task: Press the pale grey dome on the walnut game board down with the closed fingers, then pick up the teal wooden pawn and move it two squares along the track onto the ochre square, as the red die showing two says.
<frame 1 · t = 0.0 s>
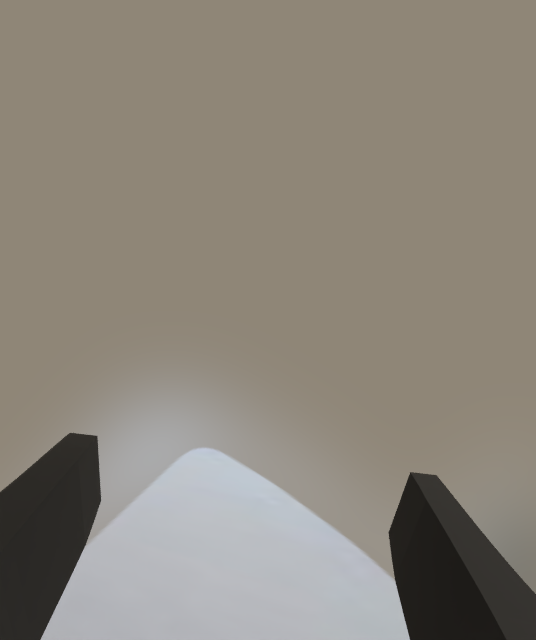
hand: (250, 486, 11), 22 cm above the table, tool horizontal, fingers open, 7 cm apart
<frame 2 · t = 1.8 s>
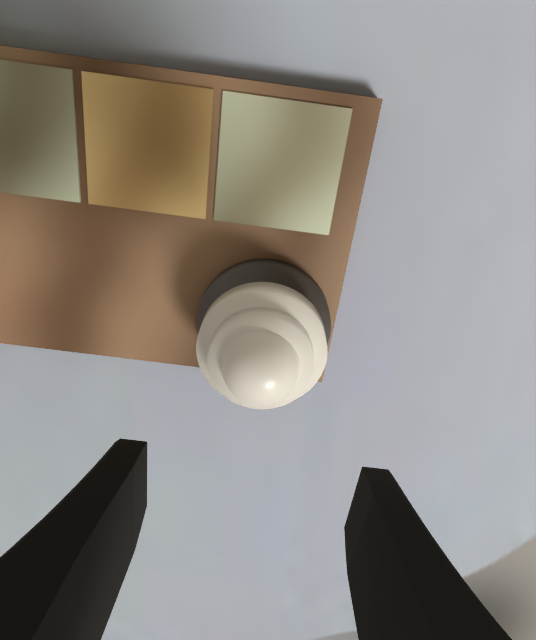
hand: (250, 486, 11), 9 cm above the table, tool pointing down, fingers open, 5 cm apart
dome: (260, 361, 15), point 4 cm above the table, slide at 0.0 cm
game board: (88, 220, 17), on the table
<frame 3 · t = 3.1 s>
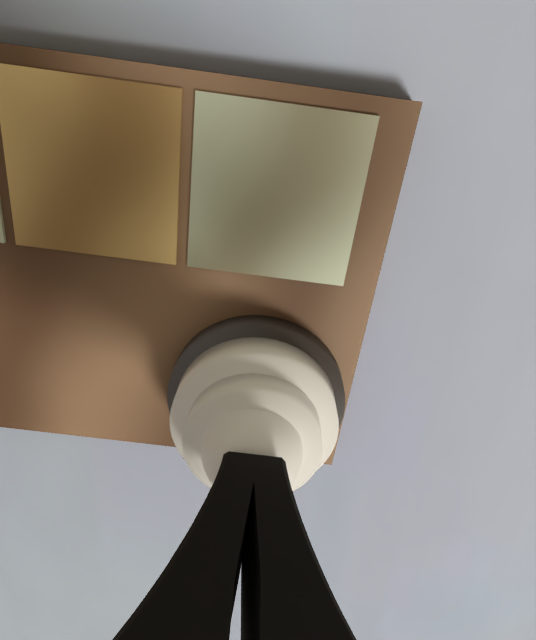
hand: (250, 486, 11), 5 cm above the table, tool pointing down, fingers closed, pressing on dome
dome: (252, 442, 12), point 3 cm above the table, slide at 0.9 cm, touching gripper
game board: (22, 263, 13), on the table
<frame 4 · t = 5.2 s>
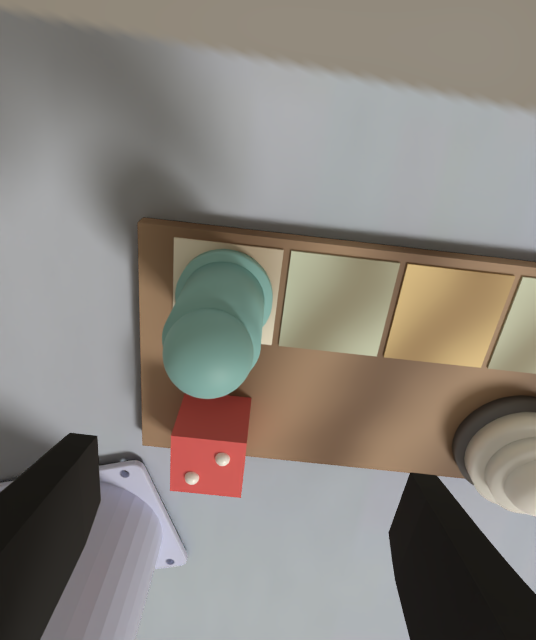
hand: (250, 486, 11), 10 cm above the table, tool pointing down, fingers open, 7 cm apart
dome: (533, 478, 19), point 3 cm above the table, slide at 0.8 cm
red die: (216, 420, 21), resting on game board
pawn: (225, 294, 18), point 1 cm above the table, touching game board
game board: (366, 362, 21), on the table
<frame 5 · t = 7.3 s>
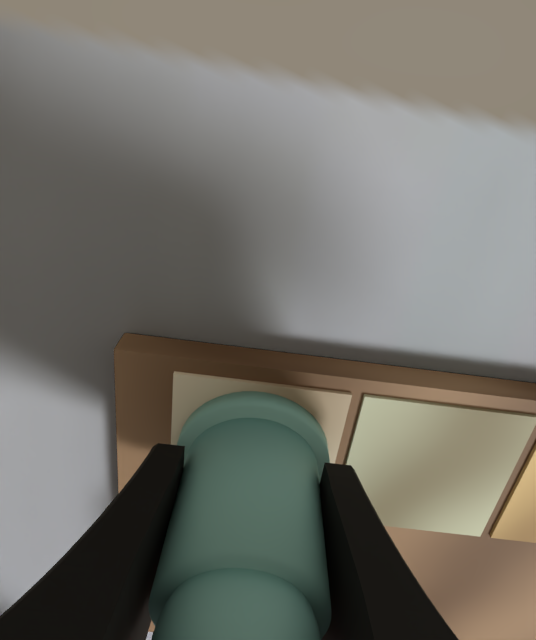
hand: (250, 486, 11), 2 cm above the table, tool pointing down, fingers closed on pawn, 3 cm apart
pawn: (252, 452, 12), point 1 cm above the table, touching game board, gripper
game board: (455, 530, 14), on the table
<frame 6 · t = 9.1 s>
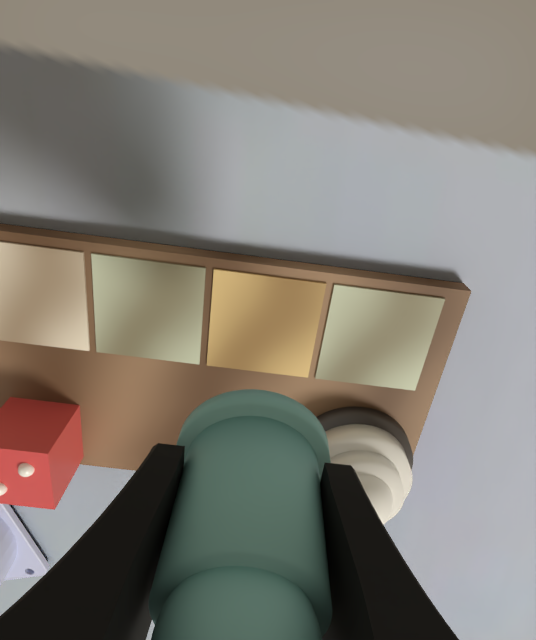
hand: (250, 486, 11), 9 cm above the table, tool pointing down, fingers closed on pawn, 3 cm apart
dome: (358, 493, 19), point 3 cm above the table, slide at 0.8 cm
red die: (48, 427, 20), resting on game board
pawn: (253, 451, 11), point 8 cm above the table, touching gripper
game board: (199, 370, 20), on the table
when the fingers open (3 cm above the table, at t = 10.9 s): pawn drops 1 cm, resting on game board.
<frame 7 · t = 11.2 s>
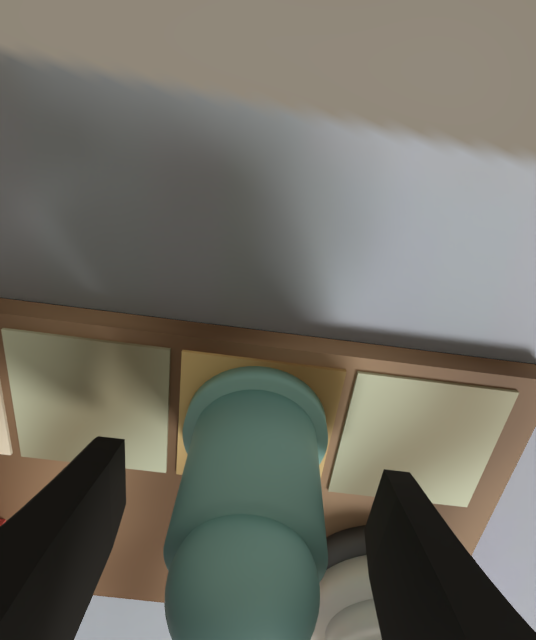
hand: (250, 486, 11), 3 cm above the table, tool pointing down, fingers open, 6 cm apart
pawn: (256, 425, 12), point 1 cm above the table, touching game board
game board: (168, 472, 14), on the table
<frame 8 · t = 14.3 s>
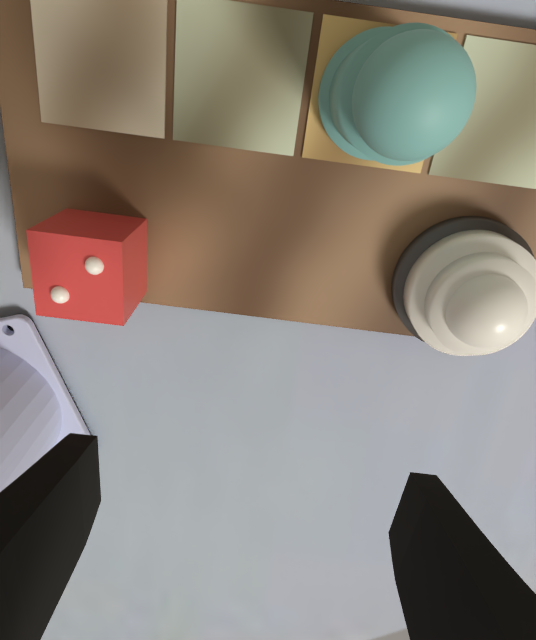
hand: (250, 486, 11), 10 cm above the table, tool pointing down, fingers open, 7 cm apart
dome: (481, 307, 16), point 3 cm above the table, slide at 0.8 cm
red die: (108, 251, 18), resting on game board
pawn: (376, 97, 15), point 1 cm above the table, touching game board
game board: (286, 178, 17), on the table
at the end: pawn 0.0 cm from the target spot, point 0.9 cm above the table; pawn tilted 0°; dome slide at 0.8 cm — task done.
